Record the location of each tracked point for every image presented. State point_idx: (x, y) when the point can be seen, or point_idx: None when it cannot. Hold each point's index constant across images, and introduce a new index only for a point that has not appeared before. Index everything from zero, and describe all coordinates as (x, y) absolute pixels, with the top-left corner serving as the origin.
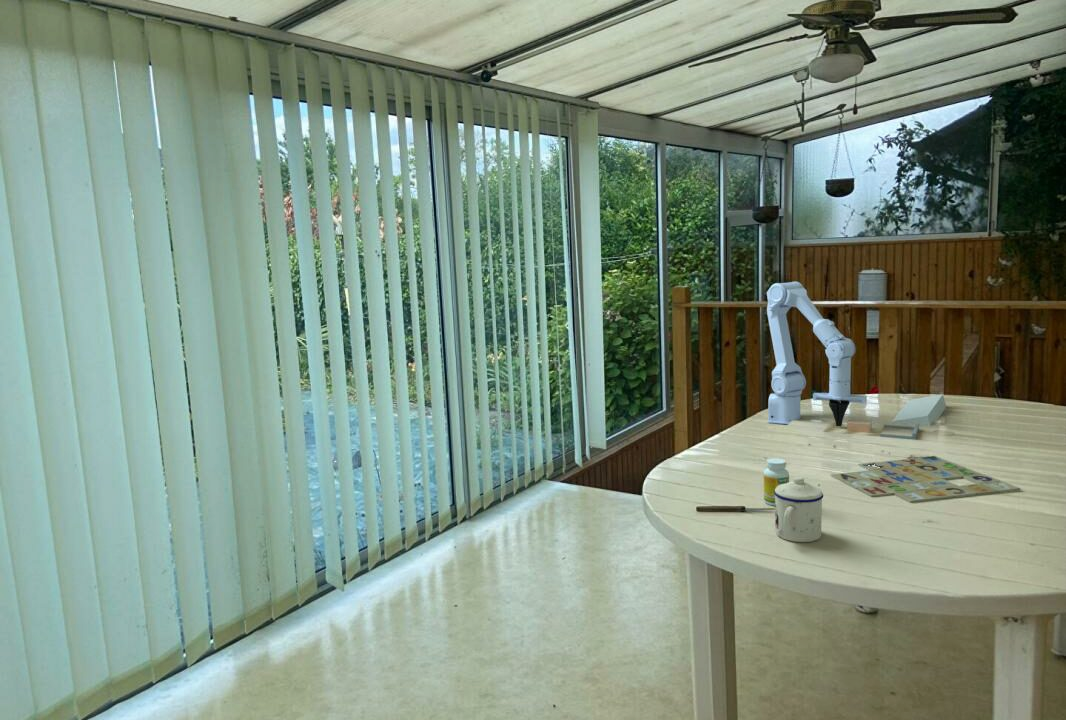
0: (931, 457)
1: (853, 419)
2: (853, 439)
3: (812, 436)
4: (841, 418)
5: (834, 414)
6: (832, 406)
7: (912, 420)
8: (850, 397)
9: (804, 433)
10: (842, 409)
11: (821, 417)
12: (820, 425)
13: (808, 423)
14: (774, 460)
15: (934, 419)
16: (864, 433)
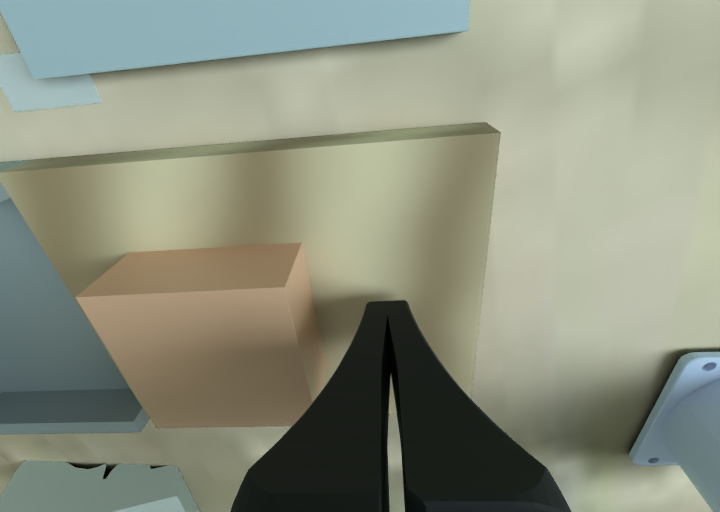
0: None
1: (279, 398)
2: (226, 139)
3: (587, 77)
4: (354, 345)
5: (433, 371)
6: (487, 463)
7: (69, 509)
8: None
9: (658, 160)
10: (326, 433)
11: None
12: (525, 397)
13: (600, 412)
14: None
15: None
16: (148, 220)
